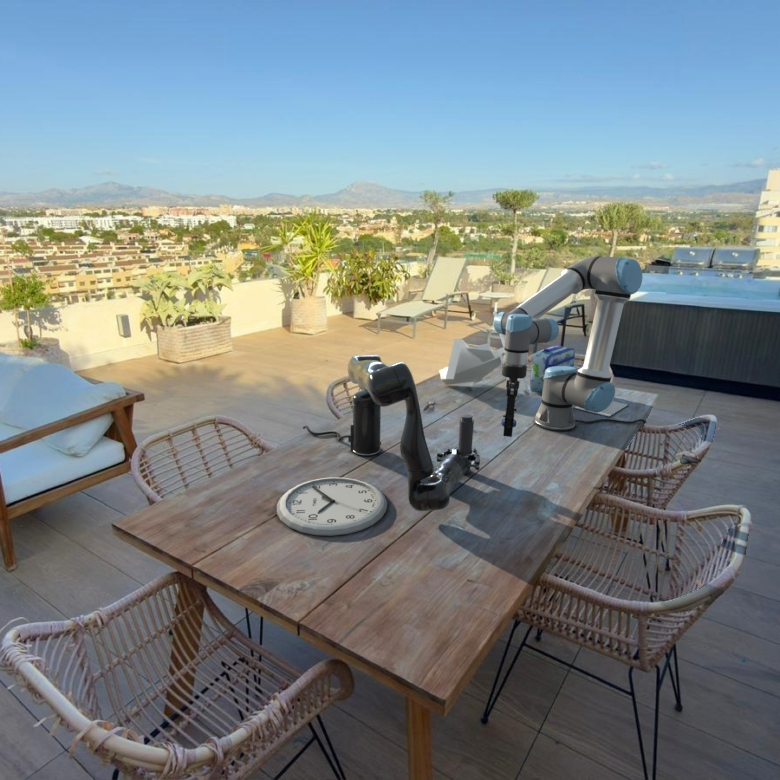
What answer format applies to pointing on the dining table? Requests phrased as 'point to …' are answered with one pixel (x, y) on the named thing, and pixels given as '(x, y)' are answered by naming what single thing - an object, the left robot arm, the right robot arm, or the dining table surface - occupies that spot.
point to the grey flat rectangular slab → (608, 409)
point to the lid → (504, 422)
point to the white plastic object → (474, 363)
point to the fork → (430, 403)
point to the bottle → (465, 436)
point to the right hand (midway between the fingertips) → (507, 433)
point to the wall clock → (331, 506)
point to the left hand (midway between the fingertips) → (467, 449)
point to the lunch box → (549, 364)
